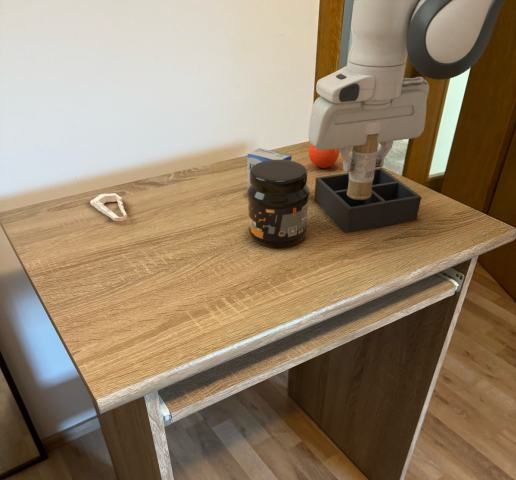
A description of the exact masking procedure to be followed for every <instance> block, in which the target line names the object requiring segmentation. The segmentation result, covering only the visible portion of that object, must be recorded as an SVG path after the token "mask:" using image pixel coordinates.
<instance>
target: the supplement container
mask: <svg viewBox="0 0 516 480" xmlns="http://www.w3.org/2000/svg"><path fill="white" fill-rule="evenodd" d="M307 182H308V169H307V167H306V166H304V164H301V163H300V162H297V161H294V160H291V161H289V160H268V161H263V162H260V163H257V164H255V165H254V166H253V167H252V168H251V169H250V183H251V184H250V185H249V187H248V186H247V190H246V193H247V207H248V234H249V236H250V238H251V239H252V240H253V241H254V242H256V243H258V244H259V245H262V246H265V247H270V248H285V247H291V246H294V245H295V244H298V243H299V242H301V241H302V240H303V239H304V238H305V236H306V234H307V230H308V227H307V225H308V223H307V222H308V209H309V208H308V206H309V205H308V204H309V197H310V188H309V186H308V185H307Z"/></svg>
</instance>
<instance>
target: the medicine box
mask: <svg viewBox="0 0 516 480" xmlns="http://www.w3.org/2000/svg"><path fill="white" fill-rule="evenodd" d="M268 160H289V161H292V155H289V154H285V153H281V152H279V151H274V150H269V149H265V148H260V147H259V148H255V149H253V150H251V151H249V152H248V153H247V154H246V165H247V166H246V167H247V168H246V169H247V171H246V172H247V175H246V176H247V188H248V187H249V185H250V184H251V183H250V169H251V168H252V167H253V166H254V165H255V164H257V163H260V162H263V161H268Z"/></svg>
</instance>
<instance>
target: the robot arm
mask: <svg viewBox="0 0 516 480" xmlns="http://www.w3.org/2000/svg"><path fill="white" fill-rule="evenodd" d="M506 1H507V0H354V1H353V7H352V15H351V22H350V23H351V24H350V26H351V27H350V28H351V37H352V39H351V47H350V50H349V53H348V56H347V64H346V65H345V66H344V67H342V68H340V69H338V70H336V71H334V72H332V73H330V74H328V75H326V76H324V77H321V78H320V79H318V80H317V82H316V88H315V91H316V93H317V94H318V95H319V96H318V97H317V98H316V99H315V101H314V102H313V105H312V107H311V110H310V116H309V117H310V118H309V125H308V142H309V143H310V144H312V145H313V146H314V147H315V148H316V149H317V150H319V151H323V150H331V149H338V148H339V149H338V150H339V155H340V156H341V158H342V170H343V171H344V173H349V172H350V171H354V170H355V163H356V162H355V161H353V160H352V159H351V156H350V155H349V154H351V152H352V147H353V146H360V145H364V144H365V143H366V141H367V136H368V135H366V134H365V131H366V124H367V123H370V122H378V121H380V122H381V129H380V133H378V134H379V135H378V136H377V143H378V145H380V147H378V148H379V149H378V152H377V159H376V166H375V169H377V168H383V167H384V162H385V158H386V157H387V155H388V154H389V152H390V151H391V150H392V148H393V144H394V142H396V141H404V140H410V139H417V138H420V136H421V135H422V134H423V132H424V131H425V125H426V118H427V117H426V116H427V104H428V103H427V100H428V98H429V92H430V84H429V82H428V81H427V80H426V79H425V78H424V77H426V78H428V79H432V80H438V81H439V80H440V81H441V80H443V81H444V80H449V79H453V78H456V77H458V76H460V75H462V74H464V73H465V72H467V71H468V70H469V69H471V68H472V67H473V66H475V64H476V63H477V62H478V61H479V59H481V57H482V55H483V54H484V52H485V50H486V49H487V47H488V44H489V42H490V39H491V37H492V33H493V31H494V28H495V25H496V22H497V19H498V17H499V14H500V12H501V10H502V8H503V6H504V5H505V3H506ZM408 59H409V61H410V64H411V66H413V68H414V69H415V70H416V71H417V72H418V73H419V74H420V75H422V76H416V77H411V78H410V77H405V72H406V65H407V60H408Z"/></svg>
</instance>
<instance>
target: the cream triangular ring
mask: <svg viewBox="0 0 516 480" xmlns="http://www.w3.org/2000/svg"><path fill="white" fill-rule="evenodd" d="M113 202H117V206H118V208H119V211H120V213H121V214H122V215H123V216H118V215H117V214H116V213H115V212H113V211H112V210H111V209H110V208H109V207H107V206H106V205H105V204H106V203H113ZM89 203H90V205H91V206H92V207H94V208H95V209H96V210H97V211H99V212H100V213H102V214H103V215H105V216H107V217H109V218H110V219H111V220H112V221H114V222H122V221H125V220H126V219H127V218H128V213H127V212H126V210H125V207H124V203H123V198H122V197H121V196H120V195H118V194H117V193H115V192H114V193H100V194H99V195H97V196H96V197H95V198H92V199H91V200H90V202H89Z"/></svg>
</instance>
